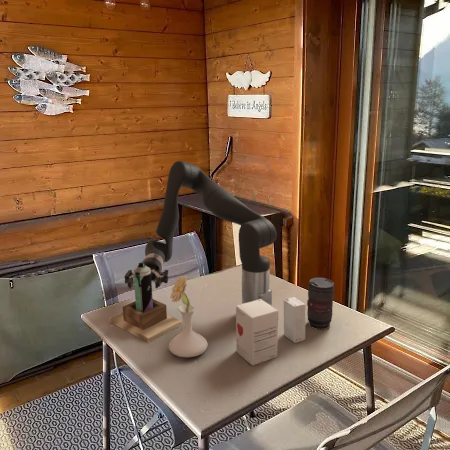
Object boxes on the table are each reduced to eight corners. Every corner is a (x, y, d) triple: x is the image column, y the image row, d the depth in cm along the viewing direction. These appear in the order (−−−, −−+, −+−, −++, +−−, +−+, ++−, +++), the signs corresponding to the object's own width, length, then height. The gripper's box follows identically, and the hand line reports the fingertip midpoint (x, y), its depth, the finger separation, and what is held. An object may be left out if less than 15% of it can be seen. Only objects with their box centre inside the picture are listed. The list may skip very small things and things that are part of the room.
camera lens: (317, 333, 147) (319, 289, 143) (301, 322, 154) (303, 280, 150) (337, 326, 151) (340, 283, 147) (320, 316, 158) (323, 275, 154)
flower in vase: (171, 340, 144) (168, 264, 137) (208, 340, 144) (207, 264, 137) (165, 364, 132) (160, 282, 125) (205, 364, 131) (203, 282, 124)
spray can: (152, 323, 152) (148, 265, 146) (135, 323, 152) (131, 265, 146) (155, 315, 157) (151, 259, 151) (138, 315, 157) (134, 259, 151)
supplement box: (235, 351, 138) (234, 304, 134) (260, 343, 142) (261, 297, 138) (251, 366, 130) (251, 317, 126) (278, 357, 135) (279, 310, 130)
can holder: (182, 325, 153) (181, 307, 151) (148, 342, 143) (147, 323, 141) (142, 307, 166) (141, 290, 164) (109, 322, 156) (108, 304, 154)
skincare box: (305, 340, 144) (307, 304, 140) (293, 343, 142) (294, 307, 138) (294, 331, 149) (295, 296, 145) (282, 334, 147) (283, 299, 144)
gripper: (130, 256, 166) (120, 274, 150) (171, 256, 165) (164, 274, 150) (132, 276, 168) (122, 296, 152) (172, 276, 168) (165, 296, 152)
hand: (143, 285), depth 151 cm, fingers open, 8 cm apart
